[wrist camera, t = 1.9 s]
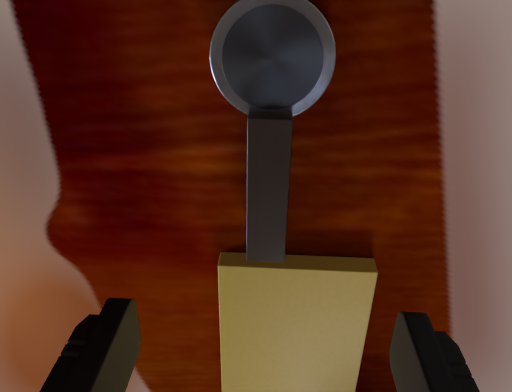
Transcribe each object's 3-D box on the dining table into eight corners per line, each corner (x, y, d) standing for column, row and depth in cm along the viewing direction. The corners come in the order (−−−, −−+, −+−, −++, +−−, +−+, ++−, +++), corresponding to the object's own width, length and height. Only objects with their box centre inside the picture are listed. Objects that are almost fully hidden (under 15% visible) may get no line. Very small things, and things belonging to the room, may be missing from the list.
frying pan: (212, -15, 21) (202, -10, 18) (338, -12, 21) (347, -7, 18) (219, 228, 28) (213, 259, 25) (314, 232, 28) (318, 264, 25)
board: (220, 251, 29) (217, 265, 27) (373, 257, 28) (378, 272, 27) (224, 407, 36) (222, 424, 35) (345, 413, 36) (347, 431, 35)
